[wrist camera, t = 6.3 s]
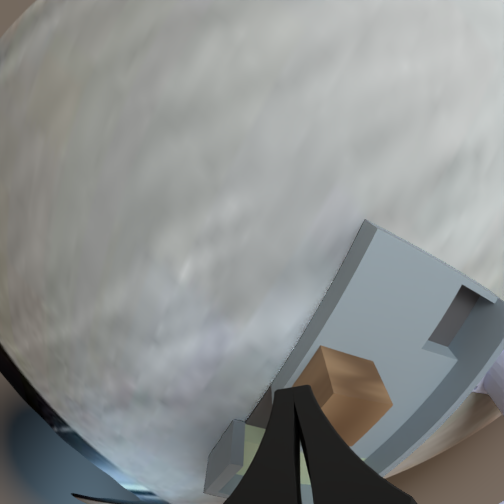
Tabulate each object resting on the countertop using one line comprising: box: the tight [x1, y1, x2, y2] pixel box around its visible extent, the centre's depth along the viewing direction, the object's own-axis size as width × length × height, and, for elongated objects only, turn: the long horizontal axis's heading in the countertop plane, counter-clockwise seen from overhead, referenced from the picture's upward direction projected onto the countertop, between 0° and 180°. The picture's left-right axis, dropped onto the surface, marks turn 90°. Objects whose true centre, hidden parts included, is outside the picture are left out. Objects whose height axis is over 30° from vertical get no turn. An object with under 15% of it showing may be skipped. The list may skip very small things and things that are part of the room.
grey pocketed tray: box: [203, 220, 504, 504], centre depth 18 cm, size 14×25×4 cm, turn 157°
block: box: [292, 345, 393, 447], centre depth 15 cm, size 4×4×4 cm
